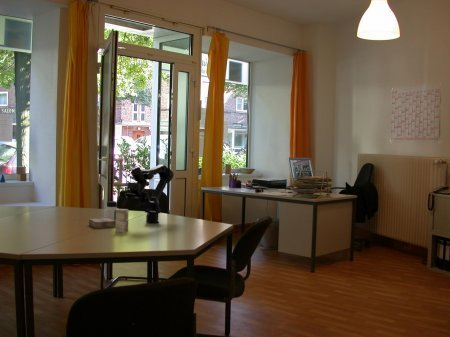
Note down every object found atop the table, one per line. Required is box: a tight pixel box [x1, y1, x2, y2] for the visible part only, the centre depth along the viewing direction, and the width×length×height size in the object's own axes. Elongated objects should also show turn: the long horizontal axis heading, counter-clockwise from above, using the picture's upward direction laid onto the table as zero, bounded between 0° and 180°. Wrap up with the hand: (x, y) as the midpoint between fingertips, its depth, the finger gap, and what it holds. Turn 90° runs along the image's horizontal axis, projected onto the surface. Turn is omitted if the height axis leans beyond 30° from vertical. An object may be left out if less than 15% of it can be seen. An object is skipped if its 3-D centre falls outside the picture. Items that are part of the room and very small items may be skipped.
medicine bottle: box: [103, 200, 119, 221], centre depth 303 cm, size 7×7×12 cm
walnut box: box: [88, 217, 116, 230], centre depth 282 cm, size 12×12×4 cm
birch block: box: [114, 208, 130, 233], centre depth 268 cm, size 5×5×12 cm
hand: (128, 207), depth 274 cm, fingers open, 9 cm apart
